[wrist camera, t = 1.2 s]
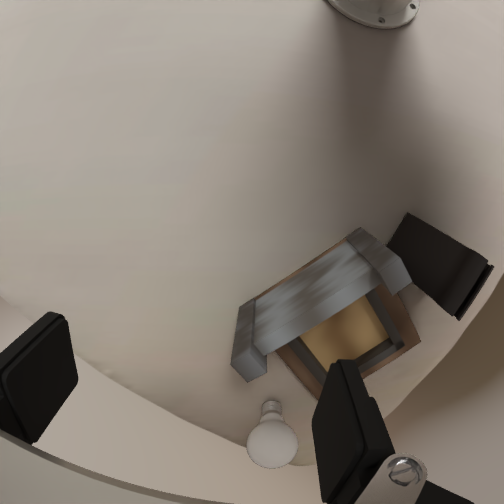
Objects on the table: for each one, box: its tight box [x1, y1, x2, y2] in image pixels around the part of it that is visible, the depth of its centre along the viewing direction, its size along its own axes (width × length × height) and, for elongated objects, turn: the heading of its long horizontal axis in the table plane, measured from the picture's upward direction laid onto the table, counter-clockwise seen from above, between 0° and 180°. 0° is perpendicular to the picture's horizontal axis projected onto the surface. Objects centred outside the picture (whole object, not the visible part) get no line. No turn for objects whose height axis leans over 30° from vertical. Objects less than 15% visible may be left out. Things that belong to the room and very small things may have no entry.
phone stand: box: [387, 212, 494, 321], centre depth 29 cm, size 9×6×12 cm, turn 60°
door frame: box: [230, 227, 421, 401], centre depth 32 cm, size 16×18×12 cm
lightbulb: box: [246, 401, 298, 469], centre depth 36 cm, size 6×6×11 cm
